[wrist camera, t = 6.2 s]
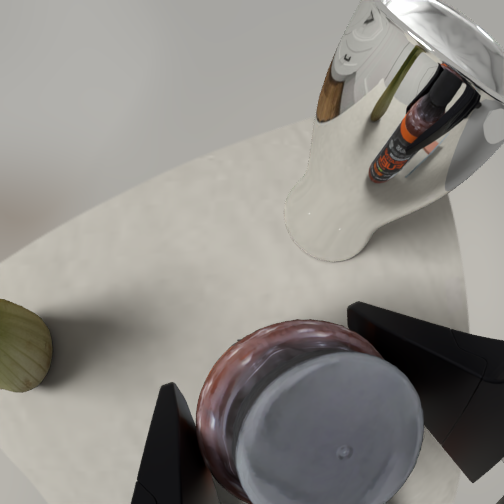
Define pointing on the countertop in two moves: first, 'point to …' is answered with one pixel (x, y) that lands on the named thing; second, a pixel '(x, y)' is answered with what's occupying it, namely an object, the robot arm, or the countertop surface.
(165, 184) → the countertop surface
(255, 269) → the countertop surface
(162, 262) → the countertop surface
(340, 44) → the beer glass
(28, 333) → the fennel bulb
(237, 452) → the supplement bottle
